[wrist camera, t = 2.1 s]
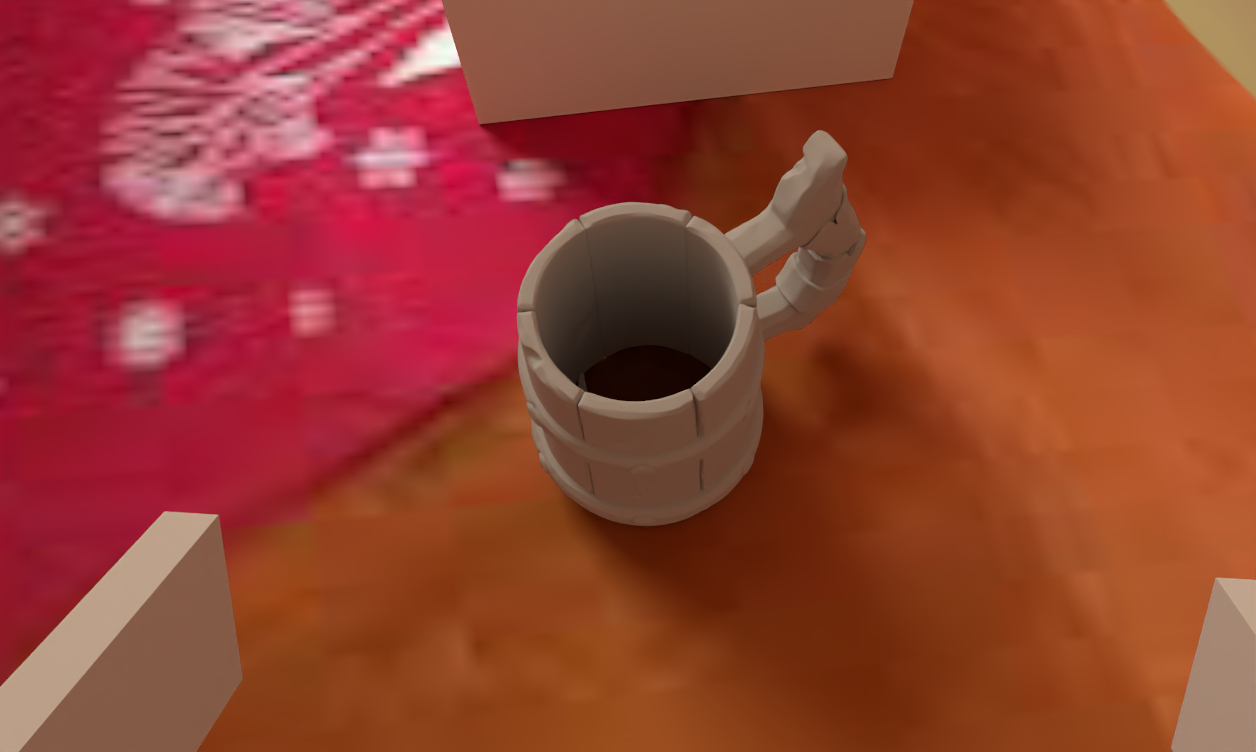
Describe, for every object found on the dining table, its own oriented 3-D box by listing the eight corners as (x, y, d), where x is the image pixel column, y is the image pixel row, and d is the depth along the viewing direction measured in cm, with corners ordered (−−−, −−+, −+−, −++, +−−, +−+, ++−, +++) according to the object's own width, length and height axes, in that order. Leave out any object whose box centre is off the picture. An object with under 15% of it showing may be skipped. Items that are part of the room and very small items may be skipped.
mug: (494, 401, 39) (417, 236, 28) (768, 227, 41) (799, 8, 30) (616, 581, 37) (585, 479, 25) (902, 387, 39) (989, 213, 27)
